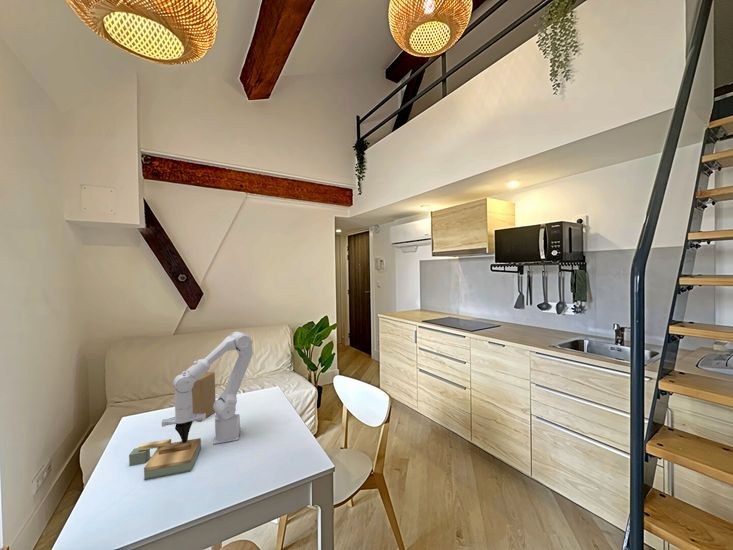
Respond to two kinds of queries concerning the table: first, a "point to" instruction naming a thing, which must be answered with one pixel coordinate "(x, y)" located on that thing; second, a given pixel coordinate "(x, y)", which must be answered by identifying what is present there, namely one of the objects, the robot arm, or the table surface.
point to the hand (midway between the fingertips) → (185, 441)
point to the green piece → (172, 468)
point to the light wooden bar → (154, 444)
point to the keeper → (138, 456)
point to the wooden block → (204, 394)
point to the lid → (173, 454)
